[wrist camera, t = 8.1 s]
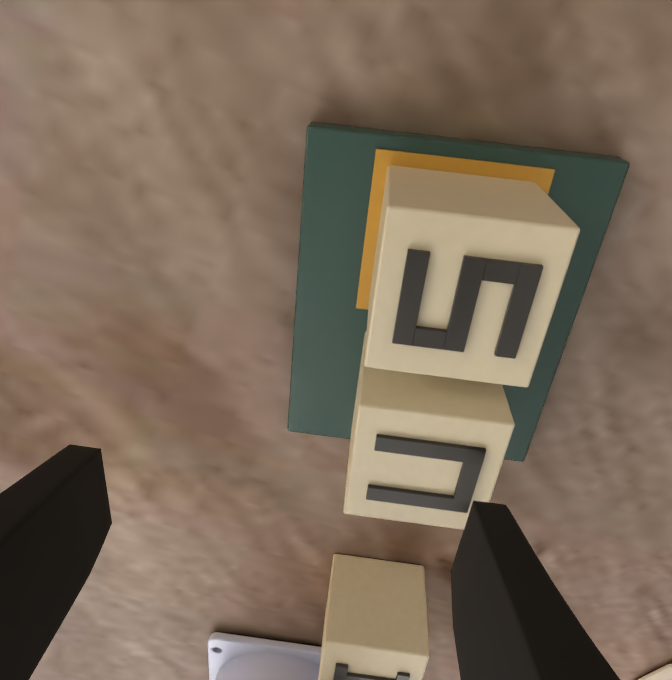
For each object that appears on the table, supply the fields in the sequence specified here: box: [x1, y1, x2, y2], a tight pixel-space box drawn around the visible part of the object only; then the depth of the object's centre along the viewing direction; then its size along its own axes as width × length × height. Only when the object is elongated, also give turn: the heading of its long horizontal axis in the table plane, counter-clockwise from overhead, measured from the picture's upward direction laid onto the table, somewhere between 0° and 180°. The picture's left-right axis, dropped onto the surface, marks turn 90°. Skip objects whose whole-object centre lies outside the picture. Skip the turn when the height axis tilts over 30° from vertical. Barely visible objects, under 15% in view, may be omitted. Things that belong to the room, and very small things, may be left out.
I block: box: [318, 554, 430, 680], centre depth 24 cm, size 4×4×4 cm
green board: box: [288, 122, 629, 462], centre depth 18 cm, size 11×9×1 cm
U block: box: [343, 331, 515, 530], centre depth 17 cm, size 4×4×4 cm
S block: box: [364, 165, 580, 387], centre depth 14 cm, size 4×4×4 cm
